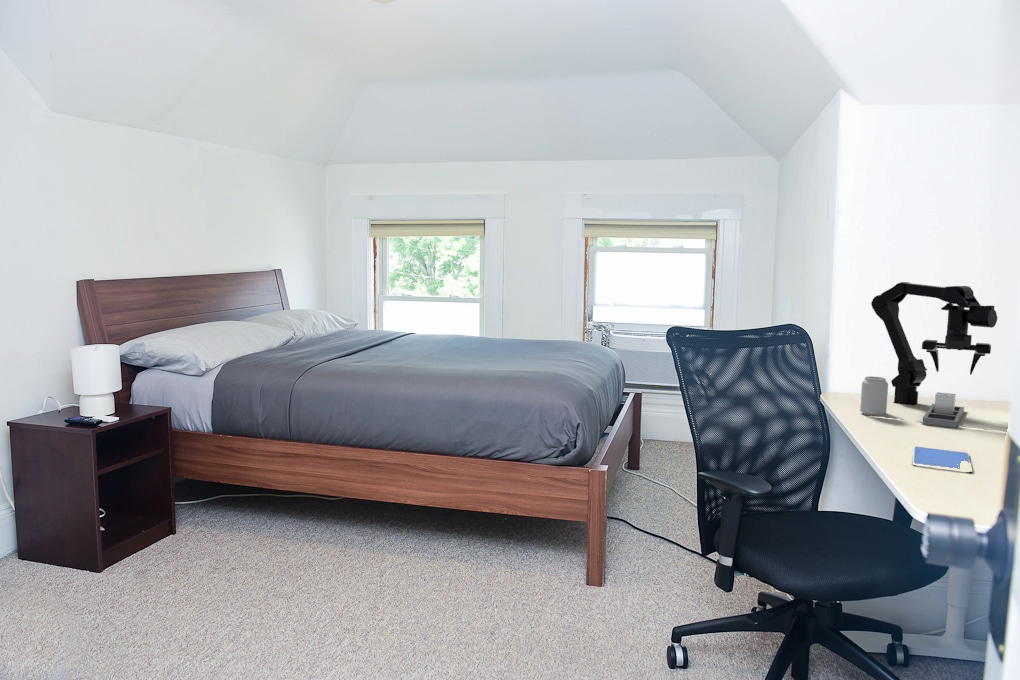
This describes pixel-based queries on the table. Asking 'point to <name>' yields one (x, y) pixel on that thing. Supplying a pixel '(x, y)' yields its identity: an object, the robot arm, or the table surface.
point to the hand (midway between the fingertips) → (953, 373)
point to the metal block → (944, 403)
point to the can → (874, 396)
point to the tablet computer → (939, 457)
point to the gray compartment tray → (943, 418)
